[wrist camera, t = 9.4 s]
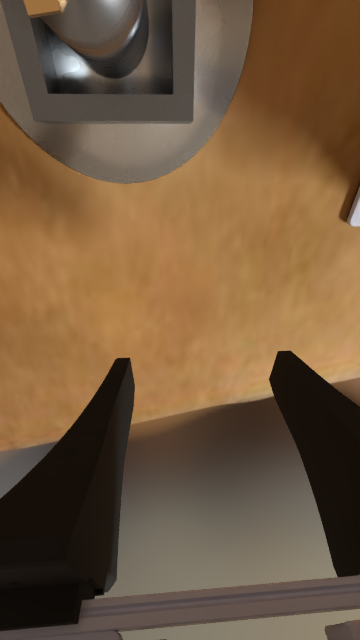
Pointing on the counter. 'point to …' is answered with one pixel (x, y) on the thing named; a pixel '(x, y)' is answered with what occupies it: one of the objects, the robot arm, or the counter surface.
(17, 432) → the counter surface
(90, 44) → the shaft
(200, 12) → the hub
